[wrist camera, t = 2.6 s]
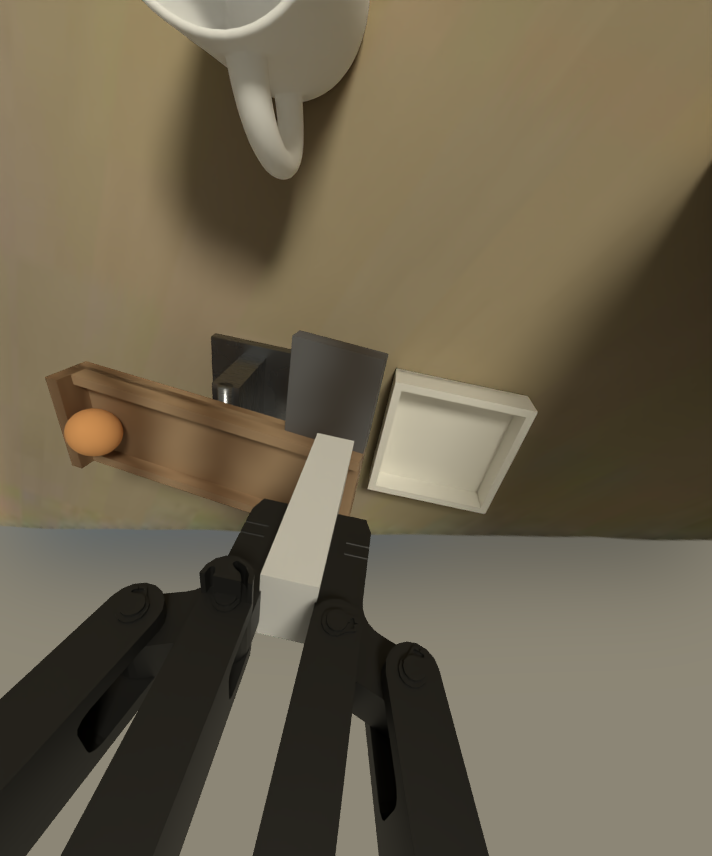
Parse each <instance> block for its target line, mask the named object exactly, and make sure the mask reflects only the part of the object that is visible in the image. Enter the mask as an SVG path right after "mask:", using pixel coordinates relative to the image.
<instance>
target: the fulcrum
mask: <svg viewBox="0 0 712 856" xmlns="http://www.w3.org/2000/svg"><path fill="white" fill-rule="evenodd" d="M211 345H212V371H213V382H212V394H213V399H214V400H217V401H221V402H224V403H227V404H231V405H234V406H237V407H241V408H244V409H248V410H251V411H254V412H258V413H261V414H264V415H268V416H271V417H274V418H278V419H281V420H284V421H285V419H286V407H287V395H288V384H289V372H290V360H291V349H287V348H282V347H277V346H273V345H268V344H263V343H259V342H254V341H249V340H244V339H240V338H235V337H230V336H226V335H221V334H214V335H213V336H211Z"/></svg>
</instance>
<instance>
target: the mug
mask: <svg viewBox="0 0 712 856" xmlns="http://www.w3.org/2000/svg"><path fill="white" fill-rule="evenodd" d="M142 1H143V2H144V3H145V4H146V5H147V6H148V7H149V8H150V9H151V10H152V11H154V12H155V13H156V14H157V15H158V16H160V17H161V18H162V19H163V20H165V21H166V22H167V23H169V24H170V25H171V26H173V27H174V28H175V29H177V30H178V31H180V32H181V33H182V34H183V35H185V36H186V37H187V38H189V39H190V40H191V41H192V42H194V43H195V44H196V45H198V46H199V47H201V48H202V49H203V50H205V51H206V52H207V53H209V54H210V55H211V56H213V57H214V58H215V59H216V60H218V61H219V62H220V63H222V64H223V65H224V66H226V67H227V68H228V72H229V77H230V82H231V86H232V90H233V94H234V98H235V102H236V105H237V109H238V113H239V116H240V119H241V122H242V125H243V128H244V131H245V133H246V136H247V138H248V141H249V143H250V145H251V147H252V149H253V151H254V153H255V155H256V156H257V158H258V160H259V161H260V163H261V165H262V166H263V167H264V168H265V170H266V171H267V172H268V173H270V174H271V175H272V176H274V177H275V178H278V179H282V180H285V179H289V178H291V177H292V176H293V175H294V174H295V173H296V172H297V171H298V169H299V166H300V164H301V160H302V154H303V143H304V124H303V102H305V101H309V100H312V99H315V98H317V97H319V96H321V95H323V94H325V93H326V92H328V91H329V90H331V89H332V88H333V87H334V86H335V85H336V84H337V83H338V82H339V81H340V80H341V79H342V78H343V76H344V75H345V74H346V72H347V71H348V69H349V68H350V66H351V64H352V63H353V61H354V59H355V57H356V55H357V52H358V50H359V47H360V45H361V42H362V39H363V35H364V31H365V27H366V23H367V17H368V10H369V0H142ZM272 97H273V98H275V103H276V111H277V121H278V126H277V122H276V118H275V113H274V109H273V103H272Z"/></svg>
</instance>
